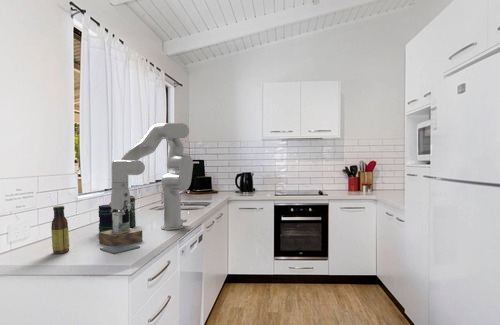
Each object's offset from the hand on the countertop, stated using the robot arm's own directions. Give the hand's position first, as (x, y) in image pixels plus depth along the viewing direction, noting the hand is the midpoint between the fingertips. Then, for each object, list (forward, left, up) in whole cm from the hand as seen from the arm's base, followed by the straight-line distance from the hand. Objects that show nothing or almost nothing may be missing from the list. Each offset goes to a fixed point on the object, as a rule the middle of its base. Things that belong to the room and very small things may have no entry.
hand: (119, 221), depth 153 cm
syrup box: (-1, 0, -10) cm, 10 cm away
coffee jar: (-22, -30, -10) cm, 39 cm away
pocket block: (-1, 0, -10) cm, 10 cm away
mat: (+7, +11, -10) cm, 16 cm away
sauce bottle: (+25, -5, -10) cm, 27 cm away
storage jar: (-7, -24, -10) cm, 27 cm away
